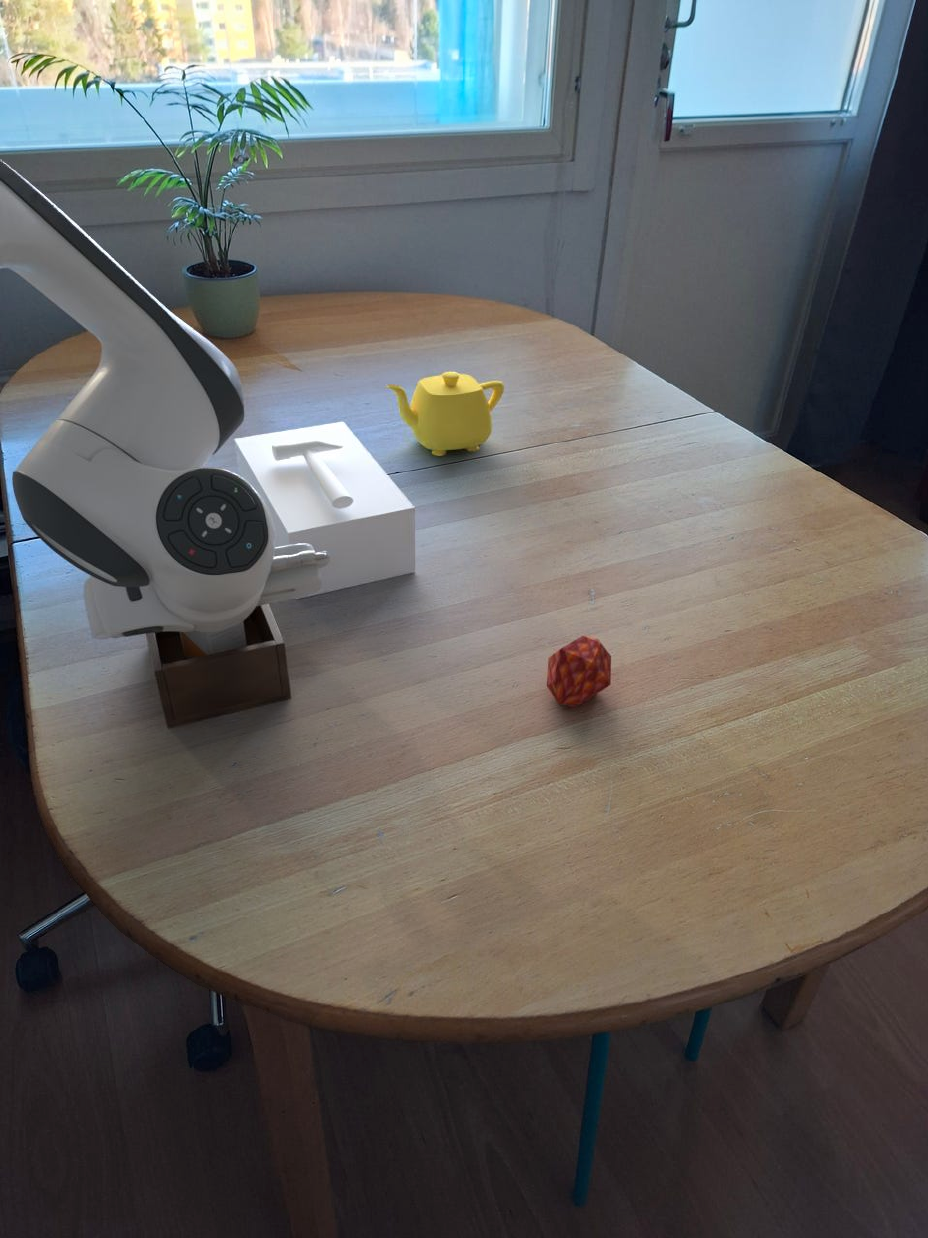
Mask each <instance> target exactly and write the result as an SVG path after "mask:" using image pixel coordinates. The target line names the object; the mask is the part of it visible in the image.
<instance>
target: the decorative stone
mask: <svg viewBox="0 0 928 1238" xmlns="http://www.w3.org/2000/svg"><path fill="white" fill-rule="evenodd" d="M547 664H548V665H547V676H546V677H547V679H546V687H547V689H548V690H549V692H550V693H551V695H552V696H553V698H554V699H555V702H556V703H557V704H558V705H562V706H569V707H574V708H576V707H578V706H580V705H582V704H583V703H584V702H587V701H588V700H589V699H591V698H592V697H594V696H595V695H597V694H599V693H600V692H602V691H603V690H605V689H606V688H608V687H610V686H611V683H612V682H611V681H612V680H611V679H612V655H611V654H610V653H609V652H608V650H607V649H606V647H605V646H604V644H603V643H602V642H601V641H600V639H597V638H594V637H589V636H586V635H581V636H580V637H578V638H576V639H574V640H573V641H571V642H569V643H568V644H566V645H565V646H562V647H561V648H559V649H558V650H557V651H556V652H554V653H553V654H552V655H551V656H549V657H548V662H547Z"/></svg>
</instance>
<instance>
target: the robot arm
mask: <svg viewBox="0 0 928 1238" xmlns="http://www.w3.org/2000/svg"><path fill="white" fill-rule="evenodd" d="M1 269H9V270H11V271H13V272H14V273H16V274H18V275H19V276H20V277H21V278H22V279H24V280H25V281H26V282H27V283H29V284H30V285H32V286H33V288H35V289H36V290H38V291H39V292H40V293H42V294H43V295H44V296H45V297H46V298H47V299H49V300H50V301H51V302H52V303H54V304H55V305H56V306H57V307H59V308H60V310H62V311H64V312H65V313H66V314H67V315H68V316H70V317H71V318H72V319H73V320H75V321H76V322H77V323H78V324H80V325H81V326H82V327H83V328H84V329H86V330H87V332H89V333H90V334H92V335H93V337H95V338H97V339H98V341H99V343H100V345H101V355H100V359H99V364H98V366H97V368H96V370H95V372H94V373H93V374H92V376H91V377H90V378H89V379H88V380H87V381H86V383H85V384H84V385H83V386H82V388H81V389H80V390H79V391H78V393H77V394H76V395H75V396H74V397H73V398H72V400H71V401H70V402H69V404H68V405H67V406H66V408H65V409H64V410H63V411H62V412H61V414H60V415H59V416H58V417H57V418H56V419H55V420H54V421H52V423H51V424H50V425H49V426H48V427H47V429H46V430H45V432H43V434H42V435H41V436H40V438H39V439H37V441H36V442H35V444H34V445H33V446H32V447H31V449H30V450H29V451H28V452H27V454H26V455H25V456H24V458H23V459H22V460H21V462H20V463H19V464H18V466H17V467H16V469H15V470H14V471H12V477H11V478H12V479H11V481H12V483H11V484H12V490H13V494H14V498H15V501H16V503H17V507H18V509H19V512H20V515H21V517H22V519H23V521H24V522H25V524H26V525H27V526H28V527H29V528H30V530H32V532H33V533H34V534H35V535H36V536H37V537H38V538H39V539H40V540H41V541H42V542H43V543H44V544H45V545H46V546H47V547H49V549H50V550H52V551H53V552H54V553H55V554H57V555H58V556H60V557H61V558H62V559H64V560H65V561H66V562H68V563H69V564H71V565H72V566H74V567H75V568H77V569H79V570H80V571H82V572H83V573H86V574H87V575H89V577H88V578H87V579H86V580H85V582H84V584H83V589H82V596H83V602H84V607H85V612H86V617H87V621H88V625H89V629H90V633H91V637H92V639H94V640H95V641H97V640H99V641H100V640H107V639H111V638H112V639H118V638H123V637H125V638H127V637H133V636H134V637H135V636H139V635H140V636H141V635H146V634H147V633H157V632H161V631H180V632H190V631H194V630H195V631H201V632H217V631H222V630H226V629H229V628H231V627H234V626H236V625H237V624H239V623H241V622H242V621H243V620H245V619H246V618H247V617H248V616H249V615H250V614H251V613H252V612H253V610H254V609H255V607H256V606H260V605H265V604H269V605H270V604H273V603H279V602H283V601H288V600H294V599H295V598H298V597H303V596H307V595H311V594H314V593H316V592H318V591H319V590H320V589H321V587H322V578H321V574H320V568H322V567H324V566H326V565H327V564H328V563H329V561H330V555H329V554H328V552H327V551H323V552H318V553H315V551H314V548H313V546H312V545H310V544H307V543H299V544H292V545H286V546H281V547H276V548H275V528H274V523H273V520H272V517H271V514H270V512H269V510H268V508H267V506H266V504H265V502H264V500H263V499H262V497H261V496H260V494H259V493H258V492H257V491H256V489H255V488H254V487H253V486H252V485H251V484H250V483H248V482H247V481H246V480H245V479H243V478H242V477H240V476H239V474H237V473H235V472H233V471H231V470H228V469H225V468H221V467H215V466H214V467H213V466H205V465H206V464H207V463H208V461H209V460H210V459H211V457H212V456H214V455H215V454H216V453H217V452H218V451H219V450H220V449H221V448H222V446H223V445H225V443H226V442H227V441H228V440H229V439H230V438H231V436H232V435H233V434H234V433H235V432H236V431H237V430H238V429H239V428H240V427H241V425H242V424H243V422H244V420H245V403H244V402H245V401H244V394H243V393H244V392H243V388H242V383H241V379H240V376H239V372H238V369H237V368H236V367H235V365H234V363H233V362H232V360H230V358H229V357H227V355H226V354H225V353H223V352H222V351H221V350H220V349H219V348H218V347H217V346H216V345H214V344H213V343H212V342H211V341H210V340H209V339H207V338H206V337H204V336H203V335H202V334H201V333H200V332H198V331H197V330H195V329H194V328H193V327H191V326H190V325H189V324H187V323H186V322H185V321H184V320H182V319H180V318H179V317H178V316H177V315H175V314H174V313H173V312H171V310H169V309H168V308H167V307H166V306H165V305H164V304H163V303H162V302H161V301H159V300H158V299H157V298H156V297H155V296H154V295H153V294H152V293H151V292H150V291H148V290H147V289H146V288H145V287H144V285H142V284H141V283H140V282H139V281H138V280H137V279H136V278H134V276H133V275H132V274H130V272H128V271H127V270H126V269H125V268H124V267H123V266H122V265H121V264H119V263H118V262H117V261H116V260H115V258H113V257H112V256H111V255H110V254H109V253H108V252H107V251H106V250H105V249H104V248H102V247H101V245H99V244H98V243H97V242H96V241H95V240H94V239H93V238H92V237H91V236H90V235H89V234H88V233H87V232H85V231H84V230H83V228H81V227H80V226H79V225H78V224H77V223H76V222H75V221H74V220H72V219H71V218H70V216H68V214H66V213H65V212H64V211H63V210H62V209H60V207H58V206H57V205H56V204H55V203H53V202H52V200H51V199H49V198H48V197H47V196H45V194H43V192H41V190H39V189H38V188H37V187H35V186H34V185H33V184H32V183H31V182H29V180H27V179H26V178H25V177H24V176H23V175H21V173H19V172H17V170H16V169H14V168H13V167H12V166H11V165H9V164H7V163H6V162H5V161H3V160H2V159H0V270H1Z"/></svg>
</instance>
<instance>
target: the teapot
mask: <svg viewBox="0 0 928 1238" xmlns="http://www.w3.org/2000/svg"><path fill="white" fill-rule="evenodd" d="M385 386H386V387H387V389H390V390H392V391H393V392H394V394H395V396H396V399H397V405H398V412H399V415H400V418H401V420H402V421H403V423H405V424H406V425H407V426H408V427H409V428H410V430H411V432H412V434H413V436H415V438H416V440H417V441H418V442H419V444H421V445H422V446H423V447H424V448H425V449H428V450H430V451H431V454H432V455H433V456H438V457H441V456H442V457H443V456H445V455H446V454H447V451H453V450H462V449H465V450H466V451H468V452H477V451H479V450H480V447H479V445H482V444H485V443H486V442H487V440H488V439H489V438H490V436H491V434H492V431H493V420H492V419H493V418H492V411H493V410H494V408H495V407H496V406H497V404H498V403H499V401H500V400H501V399H502V396H503V394H504V391H505V385H504V383H503V382H502V381H500V380H491V381H486V382H482V383H479V381H477V380H476V378H474V377H473V376H472V375H470V374H467V373H466V374H465V373H458V372H456V371H445V372H442V373H441V374H439V375H432V376H428V377H424V378H421V379H420V380H419V381H418V382H417V385H416V387H415V390H414V392H413V395H412V397H411V400H410V404H409V401H408V396H407V393H406V391H405V389H404V388H403V387H402V386H400V385H397V384H385ZM491 389H492V394H491V396H490V398H489V401H488V398H487V395H486V393H485V390H491Z"/></svg>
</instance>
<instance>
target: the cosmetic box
mask: <svg viewBox="0 0 928 1238" xmlns="http://www.w3.org/2000/svg"><path fill="white" fill-rule="evenodd" d="M179 632H180V631H179ZM180 637H181V641H182V646H183V651H184V656H185V657H186V658H187V659H191V658H196V657H200V656H205V655H209V654H214V653H218V652H223V651H227V650H232V649H236V648H241V647H245V646H247V643H246V637H245V630H244V623H243V621H242V622H241V623H239V624H237V625H236V626H234V627H231V628H229V629H226V630H222V631H217V632H201V631H195V630H194V631H190V632H180Z"/></svg>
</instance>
